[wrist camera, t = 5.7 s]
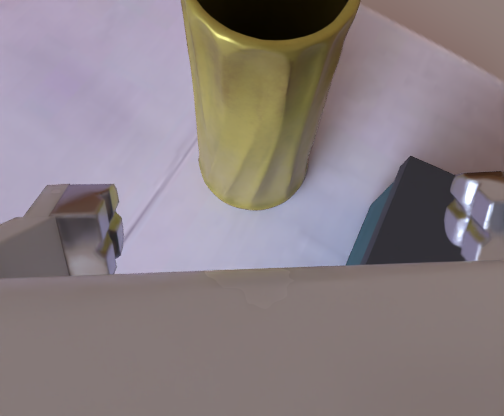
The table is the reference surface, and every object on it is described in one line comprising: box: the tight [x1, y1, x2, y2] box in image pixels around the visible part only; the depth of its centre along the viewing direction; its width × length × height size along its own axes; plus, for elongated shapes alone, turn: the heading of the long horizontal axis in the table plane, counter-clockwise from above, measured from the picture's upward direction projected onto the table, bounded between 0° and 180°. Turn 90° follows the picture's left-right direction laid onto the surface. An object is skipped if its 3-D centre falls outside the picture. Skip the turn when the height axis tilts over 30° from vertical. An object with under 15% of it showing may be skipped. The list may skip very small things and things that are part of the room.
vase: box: [181, 0, 360, 210], centre depth 20 cm, size 6×6×14 cm
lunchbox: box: [345, 156, 465, 266], centre depth 21 cm, size 15×12×6 cm
